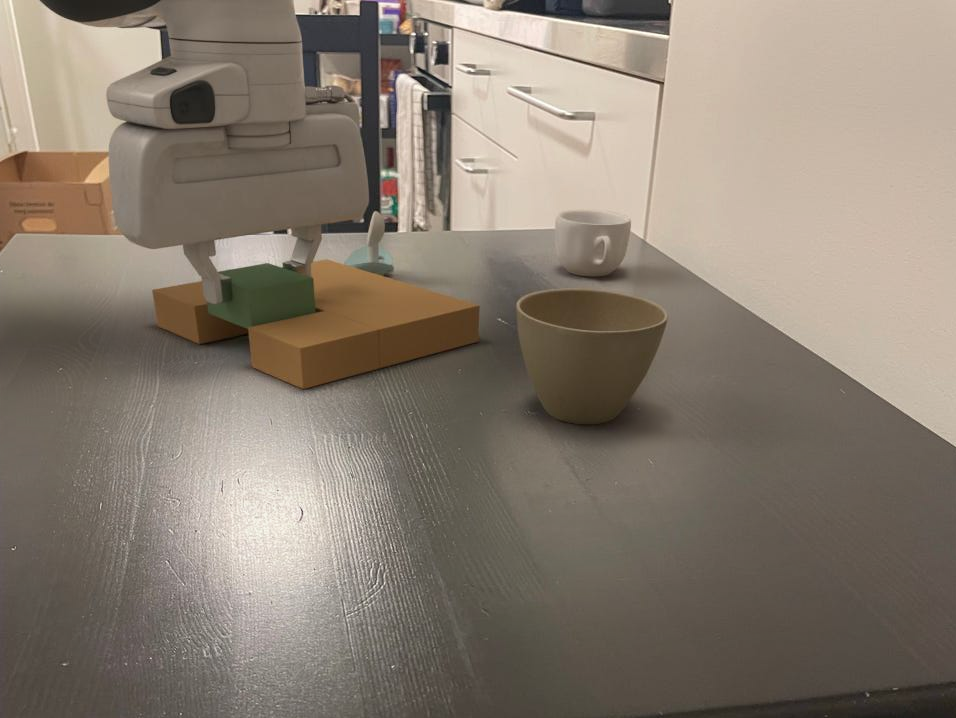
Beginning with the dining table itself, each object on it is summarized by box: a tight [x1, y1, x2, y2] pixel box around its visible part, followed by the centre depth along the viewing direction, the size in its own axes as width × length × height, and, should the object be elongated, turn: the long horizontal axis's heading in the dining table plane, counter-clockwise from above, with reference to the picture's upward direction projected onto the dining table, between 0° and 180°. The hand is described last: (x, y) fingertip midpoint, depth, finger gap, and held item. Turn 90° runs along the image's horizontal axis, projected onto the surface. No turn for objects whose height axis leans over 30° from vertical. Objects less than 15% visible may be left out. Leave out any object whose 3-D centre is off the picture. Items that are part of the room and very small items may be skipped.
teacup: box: [554, 209, 632, 277], centre depth 100 cm, size 10×8×5 cm
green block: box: [207, 262, 316, 329], centre depth 75 cm, size 6×6×3 cm
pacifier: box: [344, 210, 395, 276], centre depth 95 cm, size 7×6×6 cm
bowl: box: [515, 287, 669, 425], centre depth 65 cm, size 10×10×7 cm
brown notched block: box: [152, 259, 481, 390], centre depth 80 cm, size 20×18×3 cm
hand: (259, 293), depth 75 cm, fingers closed on green block, 6 cm apart
